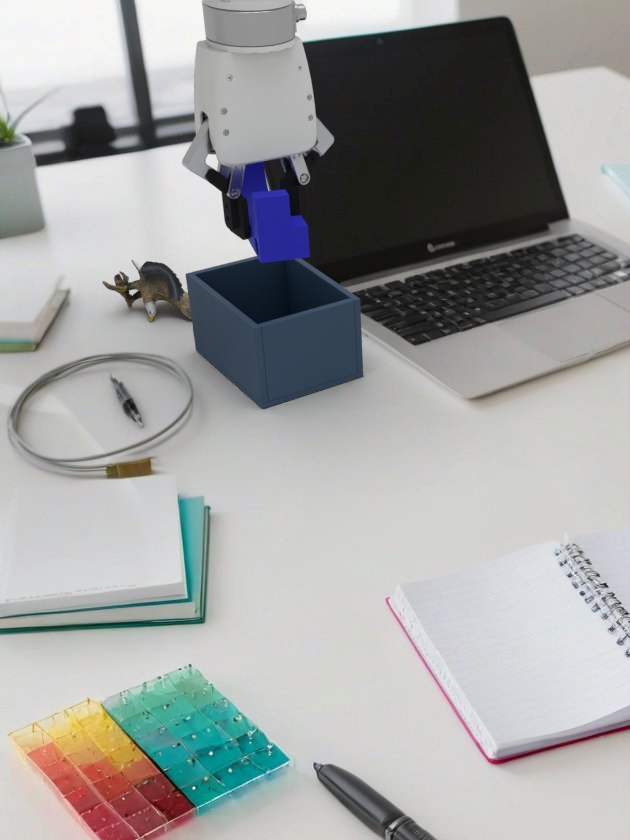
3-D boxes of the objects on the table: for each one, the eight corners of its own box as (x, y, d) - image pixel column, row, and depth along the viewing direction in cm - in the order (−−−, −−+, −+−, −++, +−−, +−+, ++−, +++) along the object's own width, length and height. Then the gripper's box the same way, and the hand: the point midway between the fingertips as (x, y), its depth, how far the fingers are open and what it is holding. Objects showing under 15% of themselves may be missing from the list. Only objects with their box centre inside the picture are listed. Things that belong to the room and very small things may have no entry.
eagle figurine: (103, 320, 122) (183, 313, 120) (99, 252, 122) (178, 244, 120) (139, 328, 129) (214, 322, 128) (135, 264, 129) (210, 257, 127)
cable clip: (309, 257, 105) (305, 193, 102) (261, 263, 104) (254, 198, 100) (280, 209, 114) (275, 149, 111) (234, 214, 113) (228, 154, 109)
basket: (262, 409, 111) (254, 328, 106) (195, 350, 120) (184, 273, 115) (363, 376, 117) (360, 298, 112) (292, 322, 126) (286, 248, 121)
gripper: (315, 5, 105) (325, 198, 115) (135, 26, 96) (165, 234, 107) (359, 23, 100) (365, 223, 111) (174, 47, 91) (200, 262, 102)
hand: (267, 226), depth 109 cm, fingers closed on cable clip, 5 cm apart
